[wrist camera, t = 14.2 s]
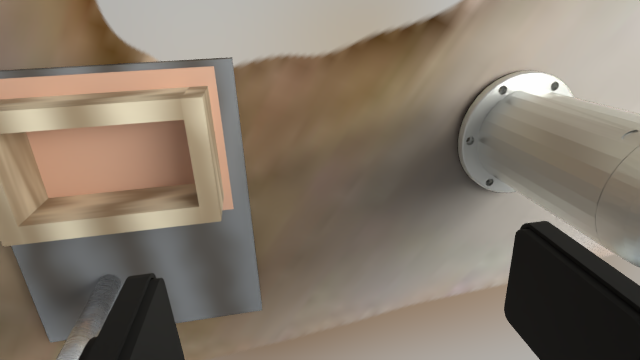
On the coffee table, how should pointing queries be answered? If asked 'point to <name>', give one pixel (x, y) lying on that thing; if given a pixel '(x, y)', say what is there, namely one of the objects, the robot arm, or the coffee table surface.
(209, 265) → the pin stand
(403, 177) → the coffee table surface
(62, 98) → the open wooden box
